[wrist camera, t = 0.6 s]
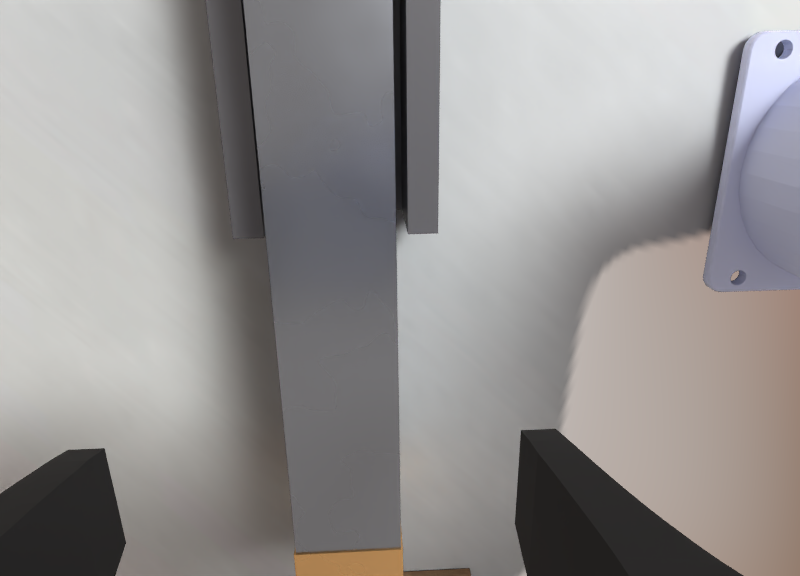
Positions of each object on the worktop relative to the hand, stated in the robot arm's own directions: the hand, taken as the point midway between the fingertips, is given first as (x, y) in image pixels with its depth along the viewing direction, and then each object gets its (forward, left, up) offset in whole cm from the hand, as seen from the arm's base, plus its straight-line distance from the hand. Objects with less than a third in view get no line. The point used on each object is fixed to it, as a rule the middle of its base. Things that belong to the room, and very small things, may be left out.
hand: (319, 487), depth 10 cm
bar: (0, -2, -10) cm, 10 cm away
